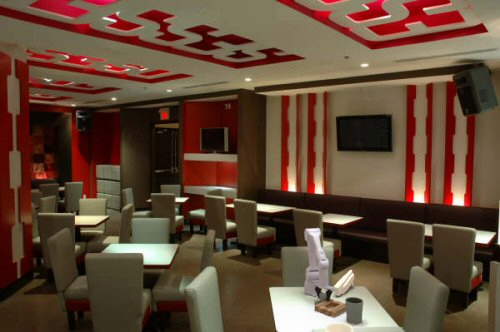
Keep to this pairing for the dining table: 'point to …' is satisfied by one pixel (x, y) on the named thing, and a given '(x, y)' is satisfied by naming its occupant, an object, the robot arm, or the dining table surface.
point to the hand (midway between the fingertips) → (323, 300)
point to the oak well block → (331, 308)
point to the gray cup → (354, 309)
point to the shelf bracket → (344, 283)
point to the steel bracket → (321, 298)
